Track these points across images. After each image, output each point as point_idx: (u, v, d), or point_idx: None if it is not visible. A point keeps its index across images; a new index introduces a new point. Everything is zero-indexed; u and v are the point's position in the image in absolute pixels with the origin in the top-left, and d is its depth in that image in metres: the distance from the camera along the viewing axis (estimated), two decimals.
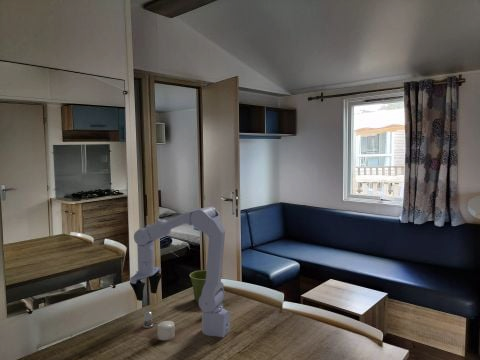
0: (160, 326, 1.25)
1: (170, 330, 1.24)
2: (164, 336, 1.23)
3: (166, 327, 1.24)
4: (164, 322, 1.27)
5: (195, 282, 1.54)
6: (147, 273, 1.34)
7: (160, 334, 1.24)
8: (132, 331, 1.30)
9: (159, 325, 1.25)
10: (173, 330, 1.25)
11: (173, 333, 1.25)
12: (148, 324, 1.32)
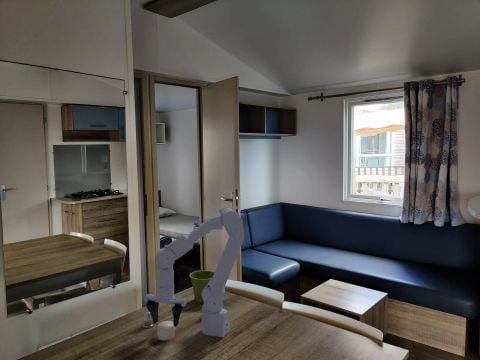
0: (160, 326, 1.25)
1: (170, 330, 1.24)
2: (164, 336, 1.23)
3: (166, 327, 1.24)
4: (164, 322, 1.27)
5: (195, 282, 1.54)
6: (157, 298, 1.24)
7: (160, 334, 1.24)
8: (132, 331, 1.30)
9: (159, 325, 1.25)
10: (173, 330, 1.25)
11: (173, 333, 1.25)
12: (148, 324, 1.32)
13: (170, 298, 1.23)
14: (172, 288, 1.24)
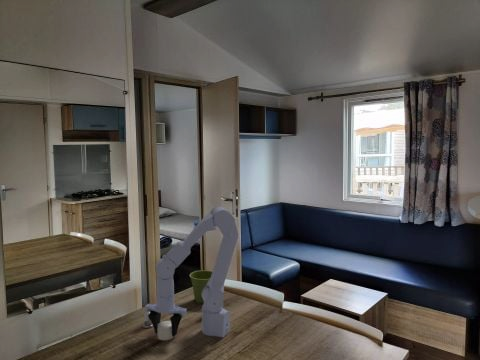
0: (160, 326, 1.25)
1: (170, 330, 1.24)
2: (164, 336, 1.23)
3: (166, 327, 1.24)
4: (164, 322, 1.27)
5: (195, 282, 1.54)
6: (157, 308, 1.24)
7: (160, 334, 1.24)
8: (132, 331, 1.30)
9: (159, 325, 1.25)
10: None
11: None
12: (148, 324, 1.32)
13: (170, 308, 1.24)
14: (172, 298, 1.24)
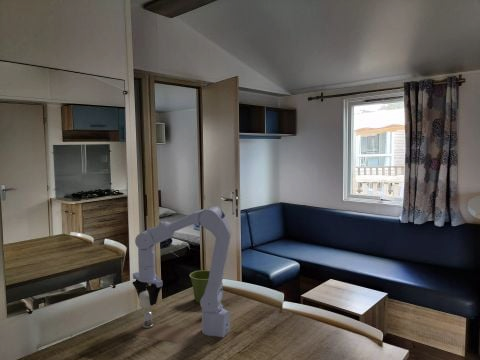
0: (141, 294, 1.32)
1: (148, 298, 1.30)
2: (143, 303, 1.30)
3: (145, 295, 1.31)
4: (147, 291, 1.34)
5: (195, 282, 1.54)
6: (138, 276, 1.32)
7: (139, 301, 1.31)
8: (132, 331, 1.30)
9: (141, 293, 1.33)
10: None
11: None
12: (148, 324, 1.32)
13: (148, 278, 1.30)
14: (151, 269, 1.30)
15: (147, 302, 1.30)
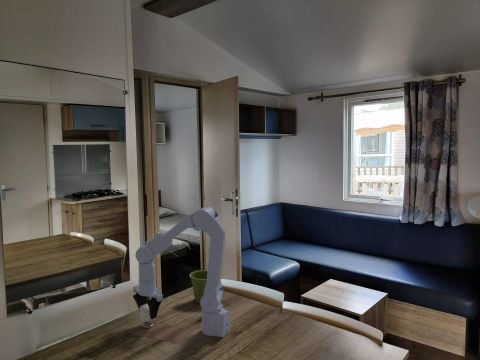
0: (141, 307, 1.32)
1: (148, 312, 1.30)
2: (143, 317, 1.31)
3: (145, 309, 1.31)
4: None
5: (195, 282, 1.54)
6: (139, 290, 1.32)
7: (140, 315, 1.31)
8: (132, 331, 1.30)
9: (141, 306, 1.33)
10: None
11: None
12: (148, 324, 1.32)
13: (149, 292, 1.30)
14: (151, 283, 1.30)
15: (147, 316, 1.30)
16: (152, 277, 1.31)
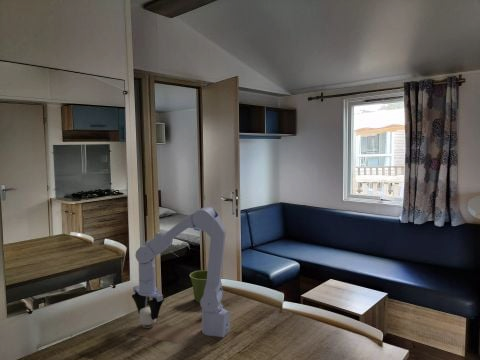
0: (141, 311, 1.32)
1: (148, 316, 1.31)
2: (143, 320, 1.31)
3: (145, 313, 1.31)
4: (148, 308, 1.35)
5: (195, 282, 1.54)
6: (139, 290, 1.32)
7: (140, 318, 1.32)
8: (132, 331, 1.30)
9: (141, 310, 1.33)
10: None
11: None
12: None
13: (149, 292, 1.30)
14: (151, 282, 1.30)
15: (147, 319, 1.31)
16: (152, 277, 1.31)
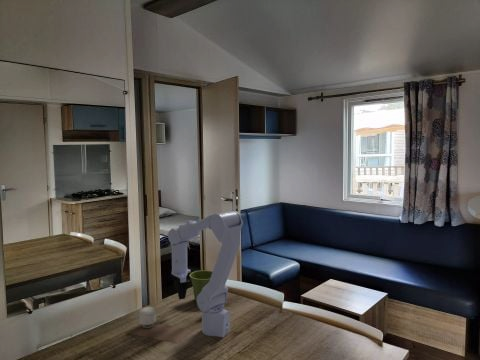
0: (141, 311, 1.32)
1: (148, 316, 1.31)
2: (143, 320, 1.31)
3: (145, 312, 1.31)
4: (148, 308, 1.35)
5: (195, 282, 1.54)
6: None
7: (140, 318, 1.32)
8: (132, 331, 1.30)
9: (141, 310, 1.33)
10: (152, 316, 1.31)
11: (152, 319, 1.31)
12: None
13: (177, 272, 1.37)
14: (180, 264, 1.37)
15: (147, 319, 1.30)
16: (181, 259, 1.37)
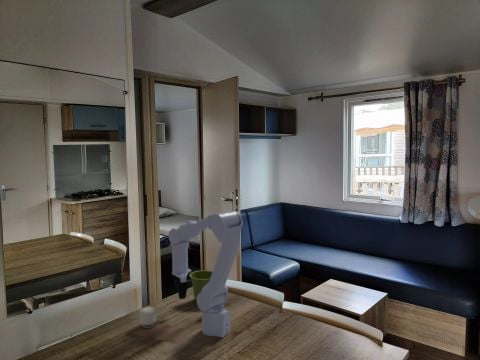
0: (141, 311, 1.32)
1: (148, 316, 1.31)
2: (143, 320, 1.31)
3: (145, 312, 1.31)
4: (148, 308, 1.35)
5: (195, 282, 1.54)
6: None
7: (140, 318, 1.32)
8: (132, 331, 1.30)
9: (141, 310, 1.33)
10: (152, 317, 1.31)
11: (152, 319, 1.31)
12: None
13: (178, 272, 1.37)
14: (180, 264, 1.37)
15: (147, 319, 1.30)
16: (181, 258, 1.37)
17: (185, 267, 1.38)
